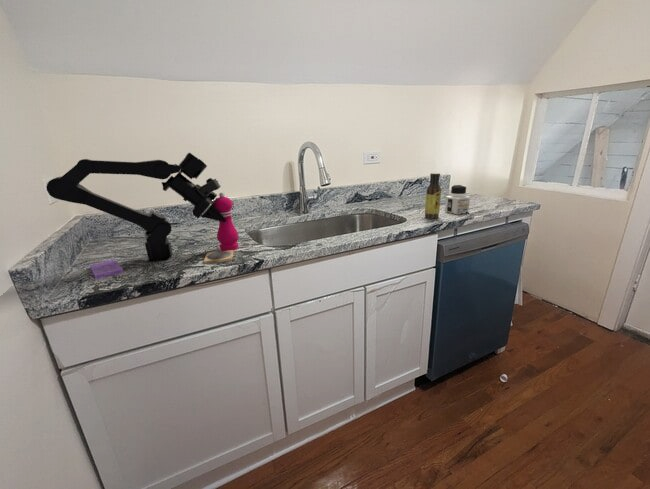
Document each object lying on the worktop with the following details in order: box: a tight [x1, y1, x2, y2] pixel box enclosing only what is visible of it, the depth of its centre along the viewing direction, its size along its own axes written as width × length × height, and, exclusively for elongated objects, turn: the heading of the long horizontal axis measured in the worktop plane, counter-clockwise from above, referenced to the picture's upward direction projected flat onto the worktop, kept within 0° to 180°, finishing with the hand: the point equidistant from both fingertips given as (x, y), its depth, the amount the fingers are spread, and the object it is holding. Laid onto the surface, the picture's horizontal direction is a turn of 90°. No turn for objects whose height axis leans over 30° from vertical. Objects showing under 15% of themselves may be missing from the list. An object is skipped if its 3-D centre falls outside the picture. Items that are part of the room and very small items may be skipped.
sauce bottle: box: [424, 172, 442, 219], centre depth 139 cm, size 6×6×20 cm
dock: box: [203, 250, 235, 264], centre depth 101 cm, size 8×8×1 cm
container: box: [444, 184, 471, 215], centre depth 148 cm, size 8×8×13 cm
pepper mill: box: [214, 192, 239, 251], centre depth 107 cm, size 7×7×20 cm
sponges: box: [89, 258, 124, 280], centre depth 95 cm, size 7×13×2 cm, turn 42°
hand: (226, 219), depth 107 cm, fingers closed on pepper mill, 5 cm apart
